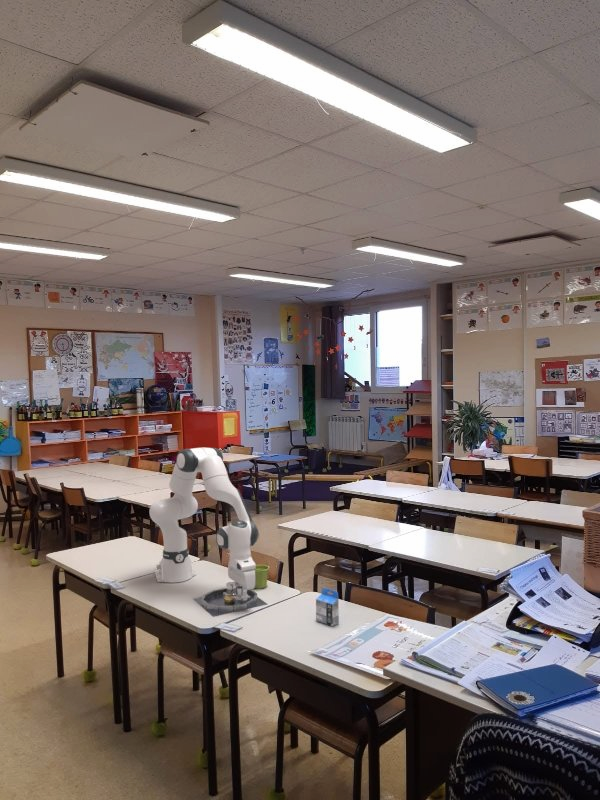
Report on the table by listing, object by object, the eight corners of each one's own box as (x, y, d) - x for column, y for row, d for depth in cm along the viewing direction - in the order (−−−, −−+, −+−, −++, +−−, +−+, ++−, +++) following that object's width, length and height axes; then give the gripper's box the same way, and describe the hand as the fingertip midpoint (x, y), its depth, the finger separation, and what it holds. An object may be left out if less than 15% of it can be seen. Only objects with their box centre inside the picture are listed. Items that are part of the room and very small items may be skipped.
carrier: (192, 601, 255) (192, 586, 255) (244, 590, 267) (243, 575, 267) (213, 619, 234) (212, 602, 234) (268, 607, 246) (267, 590, 246)
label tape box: (315, 621, 230) (314, 589, 230) (322, 617, 233) (321, 586, 233) (332, 627, 224) (331, 594, 223) (339, 623, 227) (338, 591, 226)
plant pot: (248, 590, 267) (247, 571, 267) (250, 583, 276) (249, 565, 276) (269, 590, 267) (268, 570, 267) (270, 583, 276) (269, 564, 276)
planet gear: (230, 599, 249) (230, 586, 249) (245, 596, 252) (245, 583, 252) (237, 604, 243) (236, 591, 242) (252, 601, 246) (252, 588, 246)
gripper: (223, 556, 254) (224, 588, 255) (243, 568, 237) (244, 602, 237) (237, 553, 258) (238, 585, 258) (257, 565, 240) (258, 599, 240)
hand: (241, 594), depth 247 cm, fingers closed on planet gear, 4 cm apart
